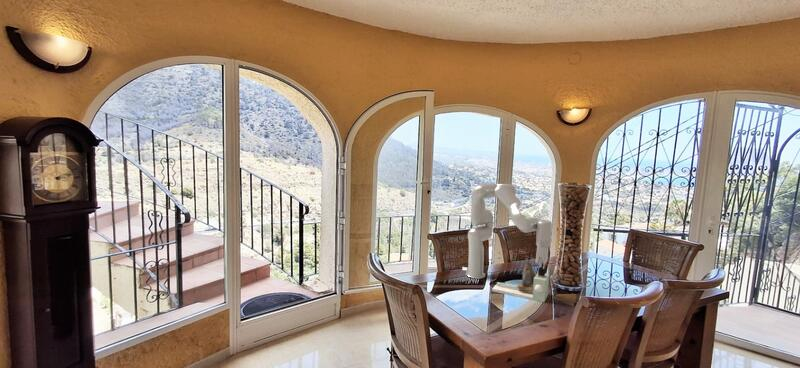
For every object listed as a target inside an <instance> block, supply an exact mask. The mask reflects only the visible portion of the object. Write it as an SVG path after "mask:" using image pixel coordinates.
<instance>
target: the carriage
mask: <svg viewBox="0 0 800 368" xmlns="http://www.w3.org/2000/svg"><path fill="white" fill-rule="evenodd" d="M521 281H522V282H519V284H518V285H516V286H517V288H519V291H523V292H528V293H532V290H533V285H530V273H526V272H525V273H522V280H521Z"/></svg>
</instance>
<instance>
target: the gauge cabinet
mask: <svg viewBox="0 0 800 368" xmlns="http://www.w3.org/2000/svg"><path fill="white" fill-rule="evenodd" d="M538 276H539V275H538V272H537V273H536V274H535V277H534V282H533V301H536V302H542V303H545V301H546V300H547V297H548V295H549V287H550V285H549V283H550V282H549V281H550V274H549V273H545V278H541V277H538Z"/></svg>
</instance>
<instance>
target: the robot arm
mask: <svg viewBox="0 0 800 368" xmlns="http://www.w3.org/2000/svg"><path fill="white" fill-rule="evenodd" d="M516 193H517V190H516V187H515V186H514V185H513V184H510V183H487V184H485V183H484V184H480V185H477V186H475V187H474V188H473V189H472V191H471V195H470V196H471V207H470V209H471V211H470V221H471V224H472V225H474V226H475V227H472V228H470V229H469V230H468V231H467V240H468V261H467V262H468V264H467V266H462V268H461V269H462V271H464V272H465V276H466V275H467V276H468V278H469V277H471V278H470V279H474V278H475V280H477V279H479V280H480V279H484V278H486V273H485V272H484V258H485V256H484V255H485V247H484V244H483V242H485V241H488V240H490V239H491V238H492V236H493V231H494V215H493V213H492V211H491V210H489V209H487V208H486V202H485V199H490V198H497V199H498V200H499V201H500V202H501V204H502V205H503V206H505V208H506V209H507V211H508V212H509V216H510V219H511V221H512V222H513V224H514V225H515V226H516V227H517V228H518V230H519V231H520V232H523V233H524V234H525V233H526V234H527V233H531V232H536V234H535V235H536V238H535V240H536V241H535V245H536V253H535V262H534V263H535V264H538V270H537V273H538V275H540V276H544V275H545V274H546V264H547V262H548V259H549V247H551V244H552V242H551V241H552V228H553V224H552V222H551V221H550V220H547V219H541V218H538V217H528V218H526V217H525V215H524V214H523V213H522V212H521V211H520V206H521V204H522V201H521V200H520V199H519V198H518V197H517V196H516ZM467 276H466V277H467Z"/></svg>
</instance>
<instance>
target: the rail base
mask: <svg viewBox="0 0 800 368" xmlns="http://www.w3.org/2000/svg"><path fill="white" fill-rule="evenodd" d="M517 286H518V285H513V284H510V283H503V282H498V281H497V282H496V284H495V285H494V286H493V287H492V288H491V291H492V292H493V293H498V294H503V295H508V296H513V297H517V298H522V299H527V300H531V301H532V300H533V290H532V293H528V292H523V291H519V288H517ZM533 301H534V300H533Z"/></svg>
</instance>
